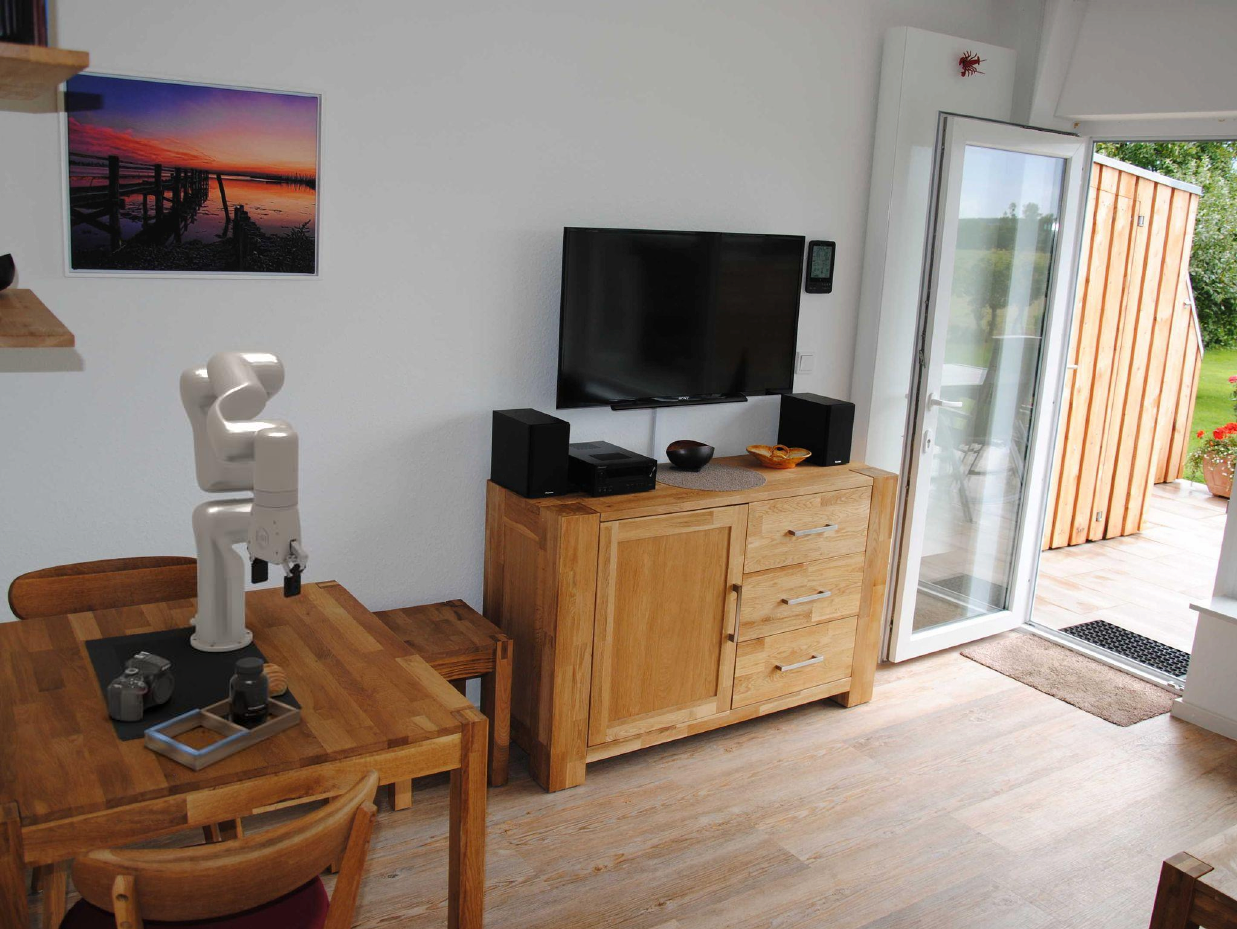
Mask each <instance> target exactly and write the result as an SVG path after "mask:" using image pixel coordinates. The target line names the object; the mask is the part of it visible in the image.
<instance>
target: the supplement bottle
mask: <svg viewBox="0 0 1237 929" xmlns="http://www.w3.org/2000/svg"><path fill="white" fill-rule="evenodd" d="M264 664H265V663H264V660H263V659H261V658H259V657H243V658H241V659H239V660H237V661H236V662H235V669H234V671H235V674H234V675H233V676H232V677H231V679H230V680H229V698H230V700H229V713H228V714H229V716H228V717H229V720H228V721H230V722H232V723H234V724H236V725H239V726H241V727H243V728H246V729H248V730H252V729H254V728H256V727H258V726H260V725H263V724H265V723H267V722H269V714H270V713H269V698H270V697H269V678H268V677H267V675H266V674H264V673H263V672H264Z"/></svg>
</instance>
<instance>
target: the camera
mask: <svg viewBox="0 0 1237 929" xmlns="http://www.w3.org/2000/svg"><path fill="white" fill-rule="evenodd" d="M170 667H171V661H169V660H167V659H165V658H163V657H162V656H159V655H156V654H151V653H149V652H146V651H145V652H144V651H141V652H140V653H139V654H136V655H134V656H133V657H132V658H131V659H129V660H127V661H125V662H124V672H123V674H121V675H119V677H117V678H115V679H113V680H112V681H111V683H109V685H107V687H106V689H105V691H106V695H107V698H108V699H107V700H108V701H107V703H108V711H109V714H110V716H111V718H113V720H114V719H115V720H116V721H122V722H139V721H141V720H142V719H143V718H144V711H145V710H146V709H148V708H150V707H155V706H157V705H163V704H164V703H166V702H167V701H168V700H169V698H171V695H172V693H173V691H174V687H175V679H174V677H173V675H172V674H171V671H170Z"/></svg>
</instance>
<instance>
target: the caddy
mask: <svg viewBox="0 0 1237 929" xmlns="http://www.w3.org/2000/svg"><path fill="white" fill-rule="evenodd" d="M229 700H230V697H228V698H226V699H223V700H221V701H218V702H216V703H213V704H211V705H208V706H206V707H203V708H202V709H199V708H196V709H193V710H191V711H189V712H186V713H184V714H182V715H178V716H176V717H174V718H172V719H169V720H167V721H164V722H162V723H160V724H157V725H155V726H152V727H150V728H148V729H146V730H143V731H144V732H143V733H144V747H146V748H148V749H150V750H152V751H155V752H156V753H158V754H161V755H163V756H165V757H167V758H169V759H172V760H173V761H175V762H178V763H180V764H182V765H185V766H186V767H188V768H190V769H192V770H194V771H200V770H202V769H204V768H206V767H209V766H211V765H213V764H215V763H217V762H219V761H221V760H223V759H225V758H228V757H230V756H231V755H234V754H236V753H238V752H240V751H243V750H245V749H247V748H249V747H251V746H253V745H255V744H257V743H260V742H261V740H262V741H263V740H266V739H268V738H271V737H272V736H274V735H277V734H279V733H281V732H283V731H285V730H287V729H289V728H292V727H294V726H295V725H297V724H299V723H300V722H301V710H300V709H298V708H295V707H293V706H291V705H288V704H286V703H283V702H282V701H279V700H276V699H275V698H274V699H273V698H272V697H269V712H271V713H272V714H271V713H270V714H271V715H274V716H275V718H274V719H272V720H268V722H267V723H265V724H263V725H260V726H258V727H256V728H254V729H252V730H248V729H246V728H243V727H241V726H239V725H236V724H234V723H232V722H230V721H229V720H228V719H224V718H222V717H223V716H225V715H227V713H228V714H229ZM220 716H221V717H220ZM199 726H203V727H205V728H207V729H209V730H211V731H214V732H216V733H219V734H220V735H222V736H225V737H227V738H224V739H222V740H220V741H218V742H215V743H213V744H211V745H209V746H206V747H204V748H202V749H199V750H196V749H195V748H194V749H193V748H191V747H189V746H188V745H185V744H184V743H181V742H179V741H178V740H177V741H176V740H174V739H172V738H174V737H176V736H179V735H181V734H183V733H185V732H188V731H190V730H192V729H195V728H198V727H199Z"/></svg>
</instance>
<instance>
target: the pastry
mask: <svg viewBox="0 0 1237 929" xmlns="http://www.w3.org/2000/svg"><path fill="white" fill-rule="evenodd" d="M263 673H264V674H266V675H267V677H268V678H269V698H272V697H275V696H280V695H284V693H286V691H287V687H288V685H289V678H288V675H287V674H286V670H285V669H284V668H283V667H282V666H281V667H280V666H278V665H277V664H274V663H264V672H263Z"/></svg>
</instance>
